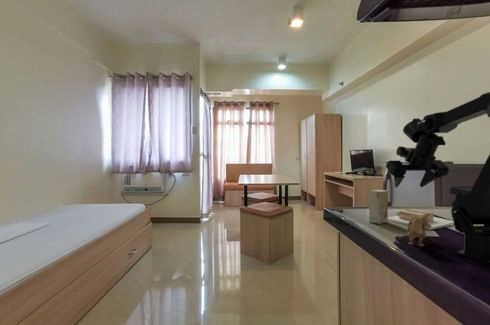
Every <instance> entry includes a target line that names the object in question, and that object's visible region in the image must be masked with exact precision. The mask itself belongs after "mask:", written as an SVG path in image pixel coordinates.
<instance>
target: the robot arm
mask: <svg viewBox="0 0 490 325" xmlns="http://www.w3.org/2000/svg"><path fill="white" fill-rule="evenodd" d="M484 115H487V117H488V118H490V92H489V91H487V92H485V93H482V94H481V95H480V96H478V97H476V98H473V99H471V100H470V101H467V102H465V103H463V104H460V105H458V106H456V107H454V108H451V109H448V110H446V111H439V112H433V113H429V114H426V115H424V117H422V118H423V119H420V118H419V117H418V118H412V120H411V121H410V122H408V123H406V125H405V126H403V129H402V133H403V134H404V135H405V136H406V137H407V138H409V139H410V140H411V141H412V142H413V143H415V144H416V145H415V147H404V146H398V147H397V149H396V152H395V153H396V155H397V156H399V157H400V158H404V161H405V162H406V163H408V164H403V163H402V162H401V161H400V160H388V161H386V164H385V167H386V169H387V170H388V172H389V173H390V174H391V175H392V176H393V183H394V184H393V185H394V187H395V188H398V187H399V186H400V185H401V183H402V181H403V180H404V179H405V176H406V173H407V172H418V171H419V172H423V171H424V174H423V175H422V176H423V177H422V179H421V181H420V184H419V187H421V188H423V187H425V186H427V185H428V184H430V183H432V182H434V181H436V180H438V179H440V178H443V177H444V176H447V175H448V174H449V172H450V168H449V167H448V166H447V164H445V162H443V161H442V159H437V157H436V156H435V155H436V152H437V150H438V148H439V146H446V144H447V143H446V141H445V139H444V136H443V135H442V136H439V135H438V134H447V133H450V132H452V131H453V130H455V129H457V128H458V125H460V124H462V123H465V122H467V121H470V120H473V119H476V118H478V117H482V116H484ZM450 214H451V217H452V221H454V225H453V226H454V229H455V230H456V231H458V233H461V234H464V235H463V236H464V237H463V238H464V239H463V250H458V251H457V254H458V255H461V256H464V257H468V258H470V259H474V260H478V261H481V262H483V263H490V153H489V154H488V157H487V159H486V160H485V163H484V164H483V166H482V168H481V170H480V172H479V174H478V175H477V178H476V180H475V181H474V183H473V186H472V187H471V189H470V190H469V191H468V192H458V193H457V194H456V196H455V199H454V200H453V202H452V203H451V213H450Z"/></svg>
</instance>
